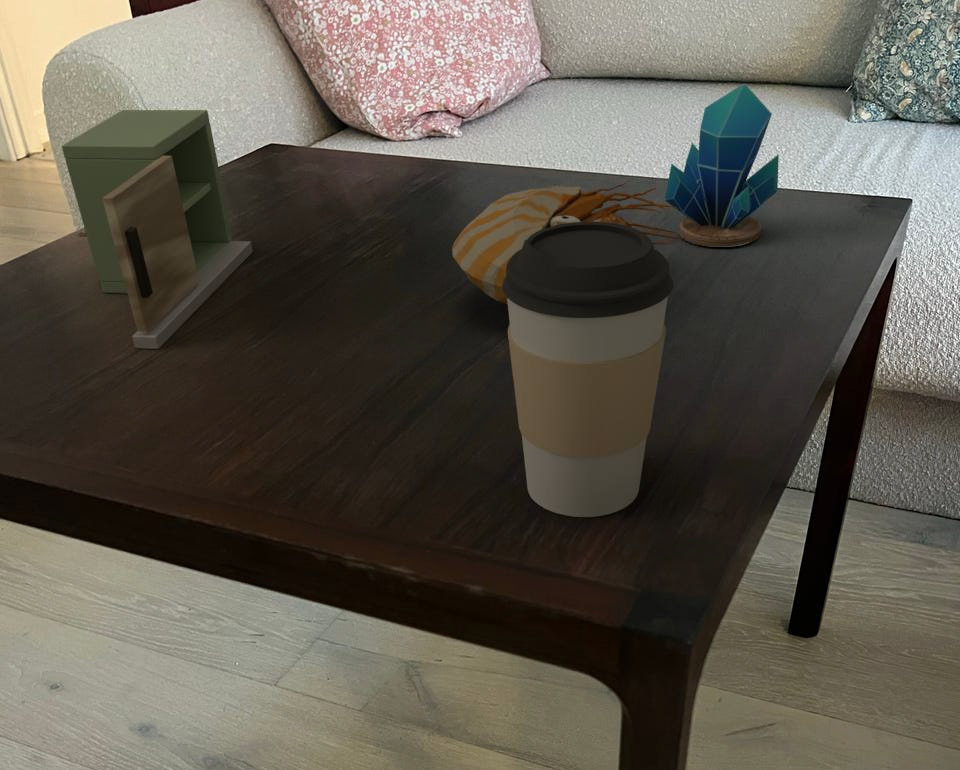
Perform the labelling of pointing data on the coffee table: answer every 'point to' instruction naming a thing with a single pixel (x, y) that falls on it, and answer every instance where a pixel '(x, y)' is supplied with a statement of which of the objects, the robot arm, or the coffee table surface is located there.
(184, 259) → the sliding door
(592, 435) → the coffee cup
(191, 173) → the cabinet
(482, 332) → the coffee table surface
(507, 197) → the nautilus
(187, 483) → the coffee table surface
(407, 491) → the coffee table surface
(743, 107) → the gemstone
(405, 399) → the coffee table surface
